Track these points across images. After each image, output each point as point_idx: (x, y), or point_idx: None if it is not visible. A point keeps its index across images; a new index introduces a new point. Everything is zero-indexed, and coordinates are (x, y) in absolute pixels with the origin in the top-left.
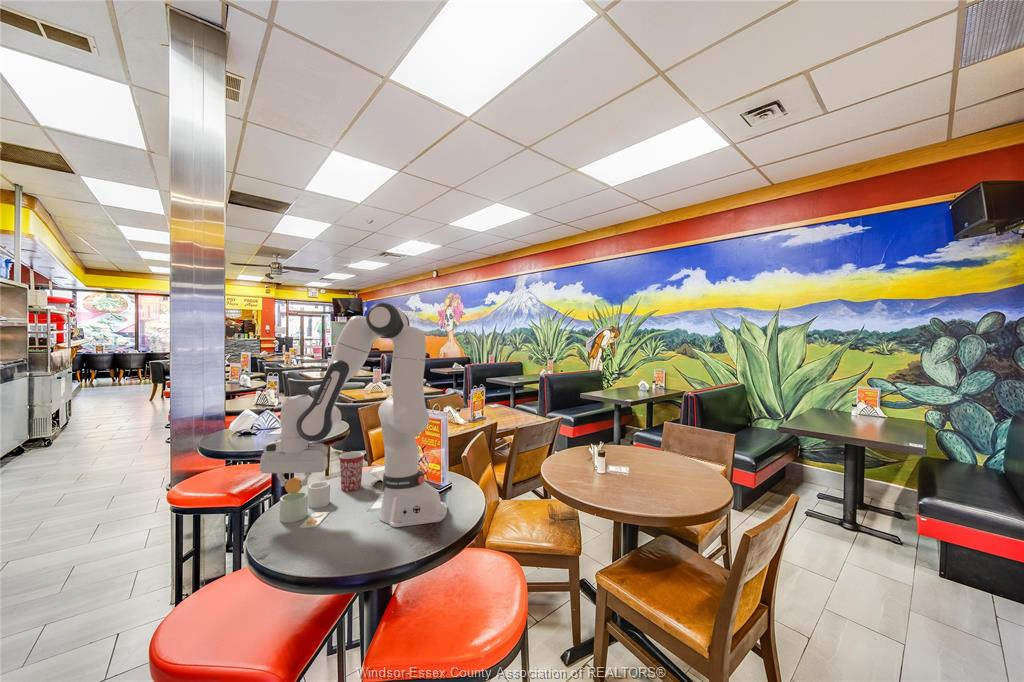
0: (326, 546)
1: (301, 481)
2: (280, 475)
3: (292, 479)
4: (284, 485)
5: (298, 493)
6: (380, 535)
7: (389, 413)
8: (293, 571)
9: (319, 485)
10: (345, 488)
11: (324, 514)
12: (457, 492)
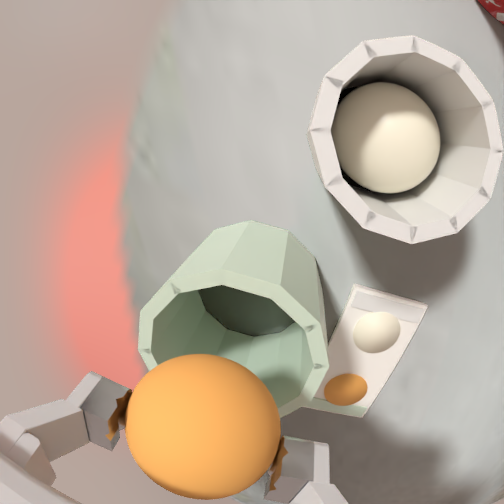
0: (372, 489)
1: (271, 495)
2: (48, 477)
3: (177, 494)
4: (124, 422)
5: (245, 288)
6: (489, 463)
7: None
8: None
9: (399, 59)
10: (500, 10)
11: (405, 329)
12: None
